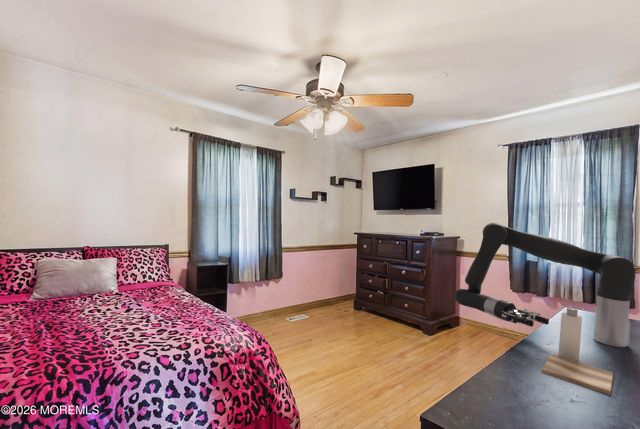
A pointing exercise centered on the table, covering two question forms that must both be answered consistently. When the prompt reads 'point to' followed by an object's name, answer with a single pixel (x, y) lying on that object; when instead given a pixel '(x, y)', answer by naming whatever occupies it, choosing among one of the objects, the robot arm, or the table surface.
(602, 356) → the table surface
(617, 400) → the table surface
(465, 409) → the table surface
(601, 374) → the oak board
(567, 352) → the lotion bottle
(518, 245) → the robot arm
